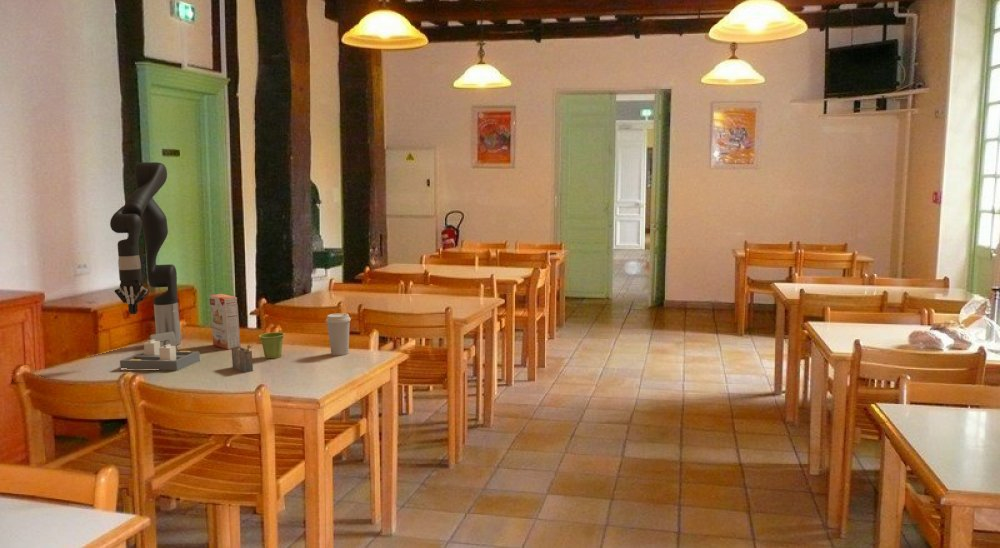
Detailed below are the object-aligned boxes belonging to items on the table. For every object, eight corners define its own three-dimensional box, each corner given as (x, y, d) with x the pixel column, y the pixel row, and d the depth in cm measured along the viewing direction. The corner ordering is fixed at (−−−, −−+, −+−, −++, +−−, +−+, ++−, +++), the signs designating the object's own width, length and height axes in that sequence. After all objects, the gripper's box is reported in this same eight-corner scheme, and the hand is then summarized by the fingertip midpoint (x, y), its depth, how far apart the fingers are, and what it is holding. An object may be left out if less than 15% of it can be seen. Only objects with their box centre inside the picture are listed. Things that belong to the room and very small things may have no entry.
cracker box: (212, 345, 338) (208, 294, 335) (226, 343, 342) (222, 293, 339) (226, 350, 328) (223, 298, 325) (241, 347, 332) (237, 296, 329)
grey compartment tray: (145, 360, 313) (145, 350, 313) (199, 360, 310) (199, 350, 309) (120, 370, 298) (119, 360, 297) (177, 370, 294) (176, 360, 294)
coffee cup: (338, 357, 309) (336, 318, 308) (321, 354, 315) (319, 315, 313) (357, 352, 317) (355, 314, 315) (340, 349, 323) (339, 312, 321)
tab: (166, 361, 301) (165, 343, 300) (176, 361, 300) (175, 343, 300) (160, 364, 297) (159, 345, 296) (170, 364, 296) (169, 346, 296)
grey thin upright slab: (254, 372, 292) (252, 345, 290) (246, 373, 290) (244, 346, 288) (240, 366, 300) (239, 340, 299) (232, 368, 298) (231, 342, 297)
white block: (151, 356, 311) (149, 338, 310) (160, 356, 310) (159, 339, 309) (145, 359, 307) (143, 341, 306) (154, 359, 306) (153, 341, 305)
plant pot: (266, 361, 306) (265, 338, 305) (256, 357, 314) (254, 334, 312) (290, 357, 312) (288, 334, 311) (279, 353, 319) (278, 331, 318)
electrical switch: (154, 359, 315) (151, 335, 314) (149, 358, 318) (146, 334, 318) (178, 355, 321) (176, 331, 321) (173, 354, 325) (170, 331, 324)
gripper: (152, 266, 308) (155, 312, 310) (119, 266, 310) (123, 312, 312) (140, 268, 300) (144, 315, 303) (107, 269, 302) (111, 315, 305)
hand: (133, 313), depth 307 cm, fingers closed
